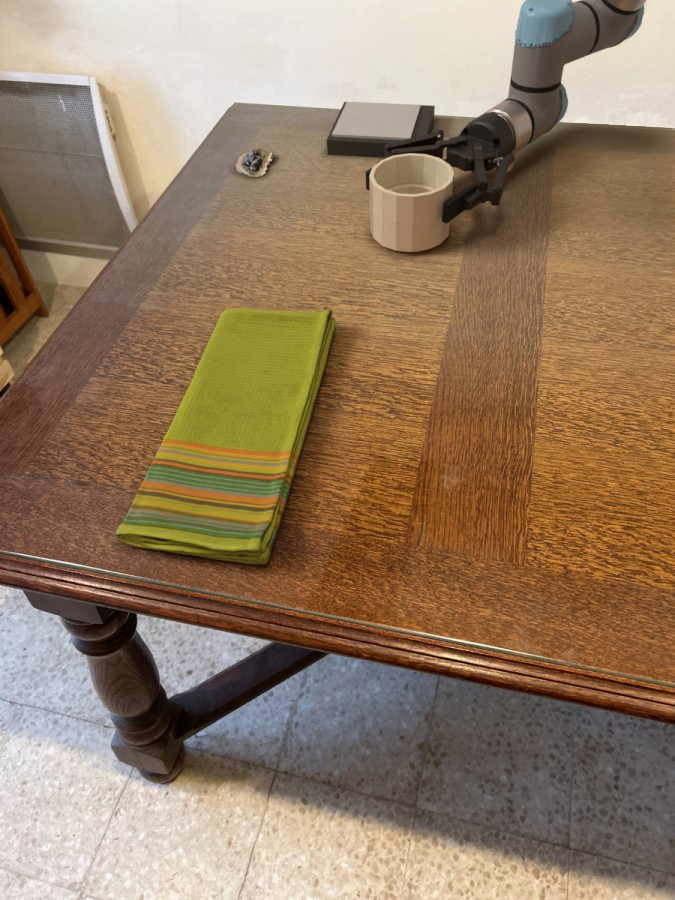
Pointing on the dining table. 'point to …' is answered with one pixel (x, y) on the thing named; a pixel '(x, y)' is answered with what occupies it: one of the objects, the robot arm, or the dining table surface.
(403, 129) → the scale
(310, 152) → the dining table surface
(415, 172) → the beige faceted pot
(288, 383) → the dish towel
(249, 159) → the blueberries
